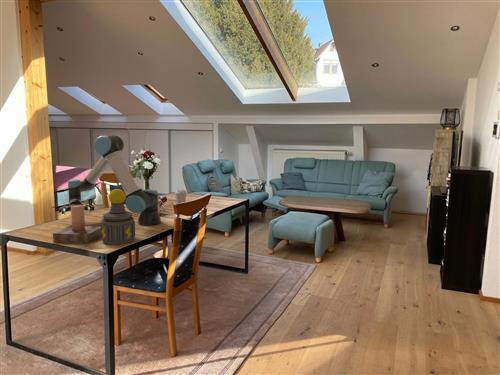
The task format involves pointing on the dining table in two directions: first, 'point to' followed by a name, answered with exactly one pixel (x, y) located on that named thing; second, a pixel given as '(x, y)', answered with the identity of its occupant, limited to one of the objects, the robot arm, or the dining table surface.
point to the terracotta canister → (77, 217)
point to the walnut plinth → (77, 235)
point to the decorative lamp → (117, 221)
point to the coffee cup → (180, 196)
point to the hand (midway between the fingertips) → (77, 212)
